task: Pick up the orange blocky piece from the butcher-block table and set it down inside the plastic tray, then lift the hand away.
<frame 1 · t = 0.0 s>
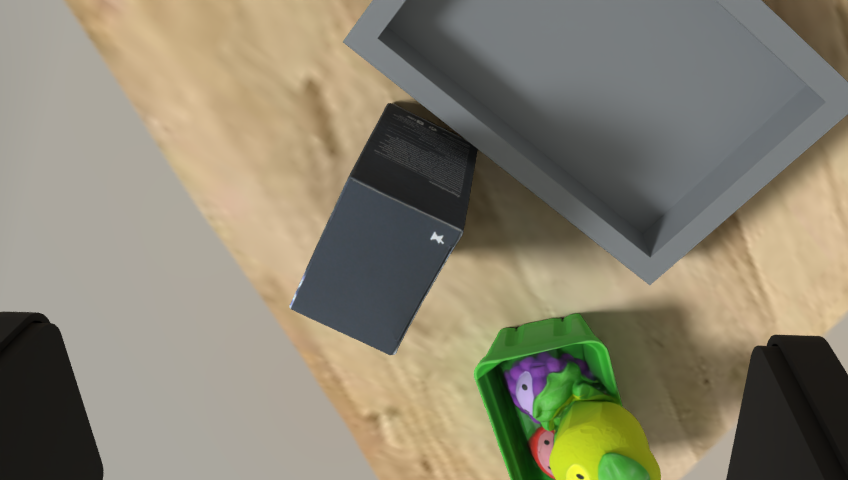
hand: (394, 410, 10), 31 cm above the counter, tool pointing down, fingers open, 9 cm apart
fruit basket: (564, 372, 48), on the counter
box: (405, 178, 43), on the counter
tray: (592, 51, 38), on the counter
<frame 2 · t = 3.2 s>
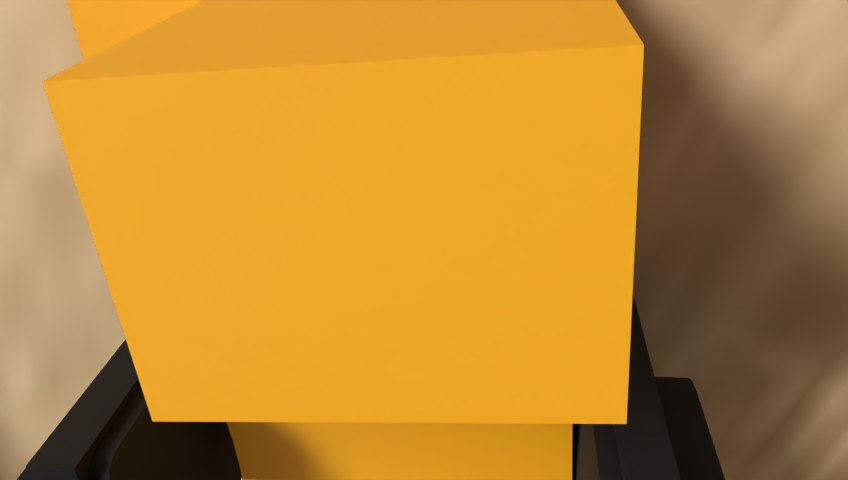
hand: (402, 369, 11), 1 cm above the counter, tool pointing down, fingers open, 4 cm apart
orange blocky piece: (421, 336, 12), on the counter
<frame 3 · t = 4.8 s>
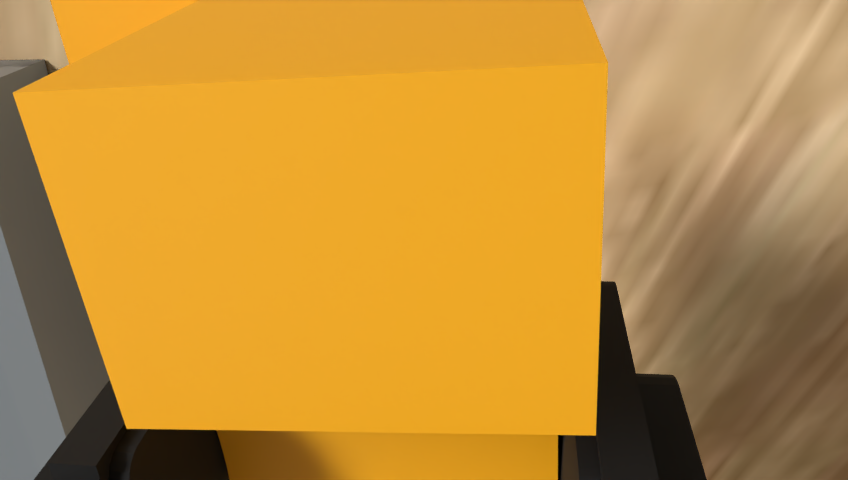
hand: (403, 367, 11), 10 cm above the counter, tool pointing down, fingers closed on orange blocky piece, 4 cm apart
orange blocky piece: (410, 338, 12), point 9 cm above the counter, touching gripper
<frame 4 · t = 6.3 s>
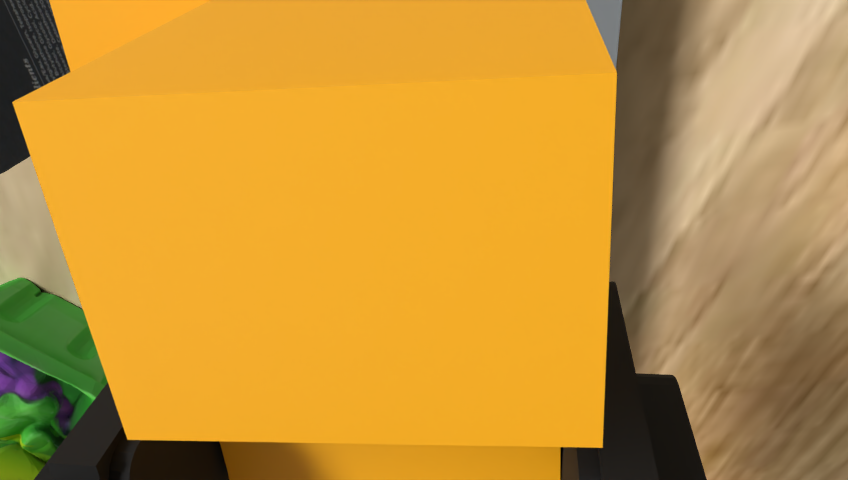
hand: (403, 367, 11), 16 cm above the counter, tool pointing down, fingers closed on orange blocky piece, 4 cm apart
fruit basket: (60, 375, 34), on the counter
orange blocky piece: (412, 341, 12), point 15 cm above the counter, touching gripper
box: (49, 9, 26), on the counter
tray: (398, 98, 26), on the counter
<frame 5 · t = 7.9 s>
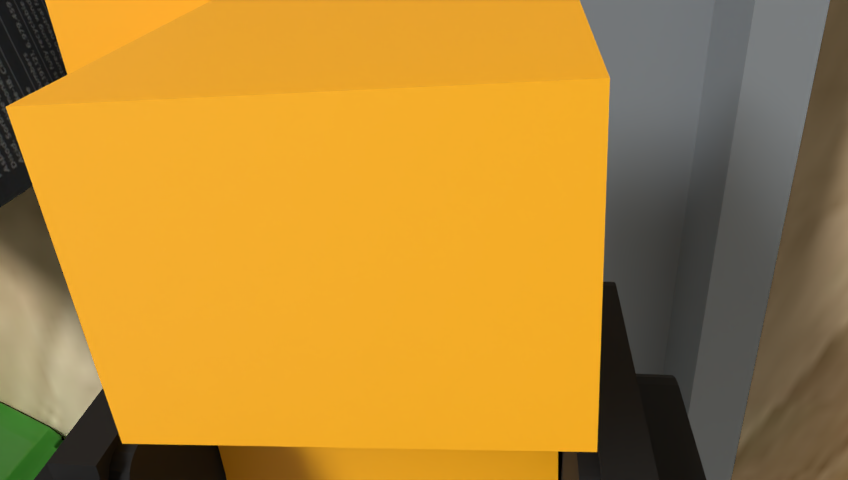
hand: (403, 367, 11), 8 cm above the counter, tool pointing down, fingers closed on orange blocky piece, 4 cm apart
orange blocky piece: (410, 343, 12), point 8 cm above the counter, touching gripper
tray: (452, 154, 18), on the counter
when the fingers open (3 cm above the counter, at t = 9.1 s): orange blocky piece drops 2 cm, resting on tray.
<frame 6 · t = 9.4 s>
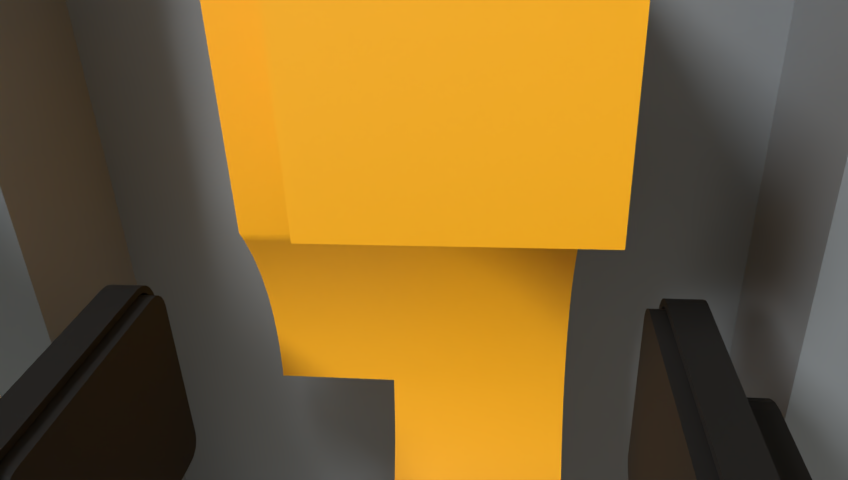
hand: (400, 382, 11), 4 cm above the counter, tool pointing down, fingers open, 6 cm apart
orange blocky piece: (435, 269, 14), point 1 cm above the counter, touching tray
tray: (428, 252, 14), on the counter
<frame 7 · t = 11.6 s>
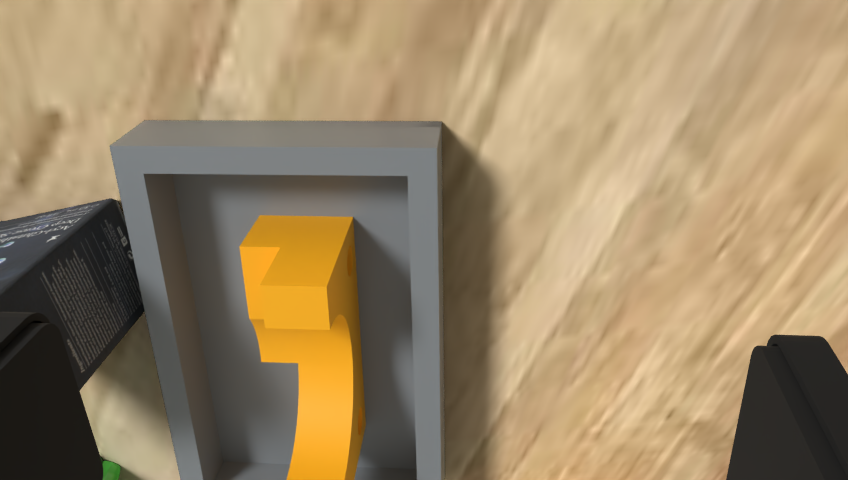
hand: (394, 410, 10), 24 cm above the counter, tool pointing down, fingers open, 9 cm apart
orange blocky piece: (317, 324, 37), point 1 cm above the counter, touching tray
box: (70, 257, 38), on the counter
tray: (310, 317, 38), on the counter
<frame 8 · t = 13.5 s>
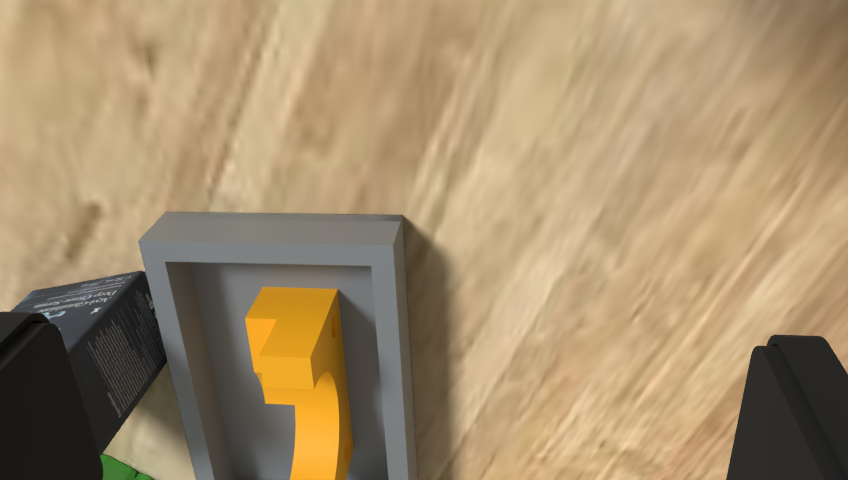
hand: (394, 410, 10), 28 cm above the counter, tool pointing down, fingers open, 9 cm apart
orange blocky piece: (311, 370, 46), point 1 cm above the counter, touching tray
box: (108, 314, 46), on the counter
tray: (302, 363, 46), on the counter
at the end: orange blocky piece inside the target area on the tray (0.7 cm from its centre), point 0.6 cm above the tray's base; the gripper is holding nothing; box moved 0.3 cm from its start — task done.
